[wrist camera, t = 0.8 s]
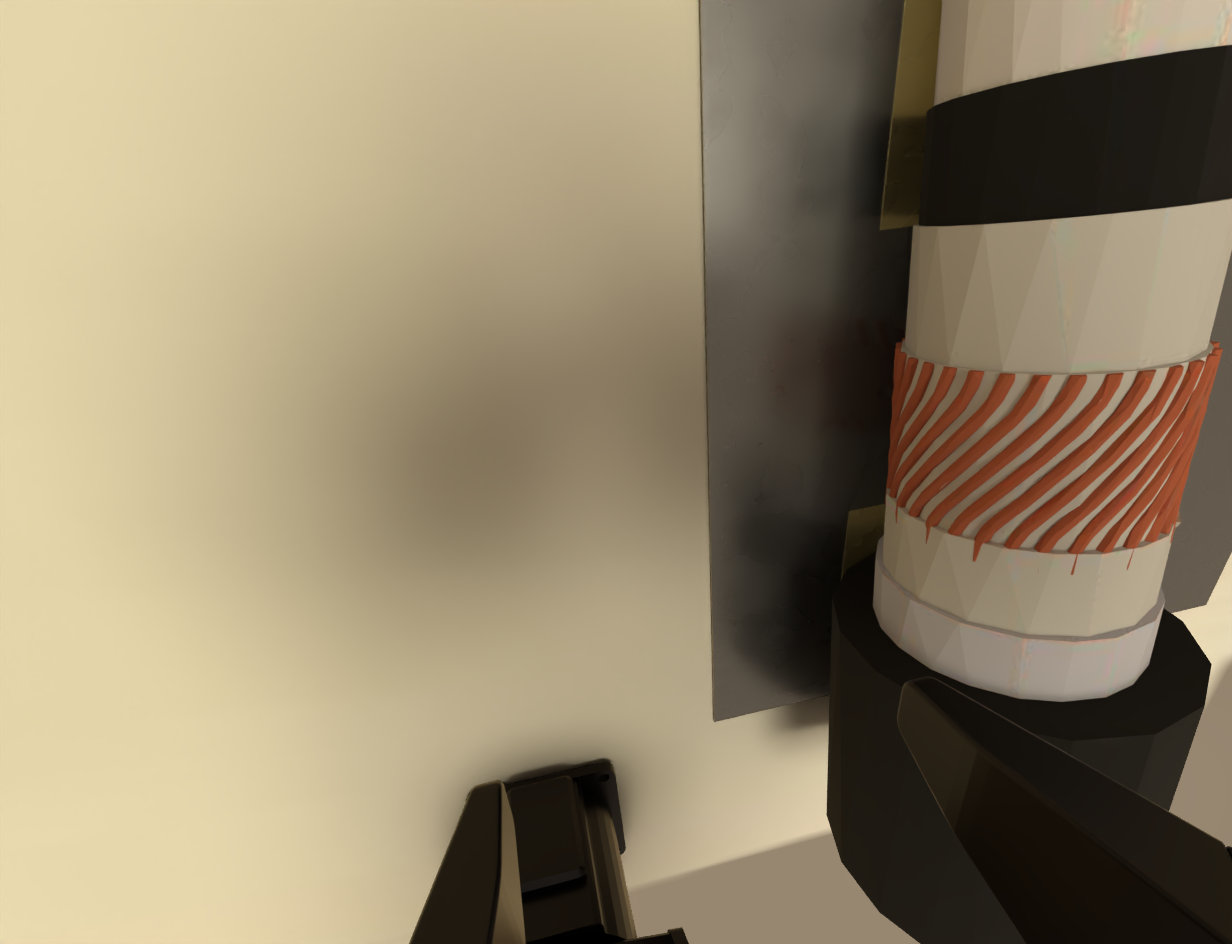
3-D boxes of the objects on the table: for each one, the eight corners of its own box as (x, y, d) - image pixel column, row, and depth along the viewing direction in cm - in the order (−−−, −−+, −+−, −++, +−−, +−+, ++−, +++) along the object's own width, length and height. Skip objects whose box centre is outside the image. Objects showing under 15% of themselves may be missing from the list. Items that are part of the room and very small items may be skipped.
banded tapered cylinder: (987, -232, 17) (1683, -649, 9) (905, 697, 30) (1172, 838, 22) (753, -396, 12) (1947, -1691, 4) (775, 826, 25) (1069, 1071, 17)
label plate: (1203, 603, 30) (1206, 605, 30) (713, 720, 27) (714, 722, 27) (1618, -256, 16) (1627, -259, 16) (694, -243, 13) (696, -247, 13)
